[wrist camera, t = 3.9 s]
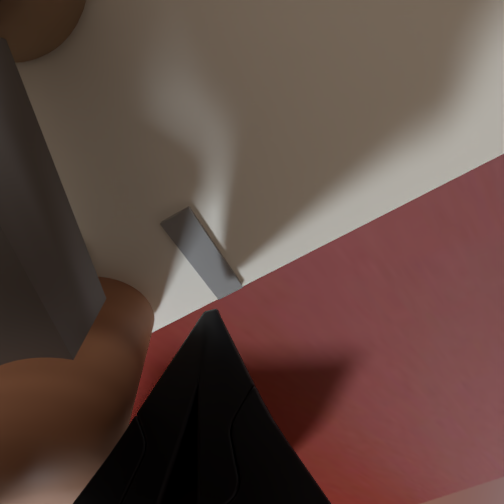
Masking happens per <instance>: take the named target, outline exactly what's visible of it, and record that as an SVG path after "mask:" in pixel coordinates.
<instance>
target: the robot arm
mask: <svg viewBox="0 0 504 504" xmlns="http://www.w3.org/2000/svg"><path fill="white" fill-rule="evenodd" d="M137 416H138V417H137ZM137 416H135V417H134V419H133V420H132V422H131V423H130V425H129V426H128V428H127V429H126V431H125V432H124V434H123V435H122V436H121V438H120V439H119V441H118V442H117V444H116V445H115V447H114V448H113V450H112V451H111V452H110V454H109V455H108V457H107V458H106V460H105V461H104V462H103V464H102V465H101V466H100V468H99V469H98V470H97V472H96V473H95V474H94V476H93V477H92V478H91V480H90V481H89V483H88V484H87V485H86V487H85V488H84V489H83V491H82V492H81V493H80V494H79V496H78V497H77V498H76V500H75V501H74V502H73V504H331V503H330V501H329V500H328V498H327V497H326V496H325V494H324V493H323V491H322V490H321V488H320V487H319V485H318V484H317V483H316V481H315V480H314V478H313V477H312V475H311V474H310V473H309V471H308V470H307V468H306V467H305V465H304V464H303V463H302V461H301V460H300V458H299V457H298V455H297V454H296V453H295V451H294V450H293V448H292V447H291V445H290V444H289V442H288V441H287V440H286V438H285V437H284V435H283V433H282V432H281V430H280V429H279V427H278V426H277V424H276V423H275V421H274V420H273V418H272V416H271V414H270V412H269V411H268V409H267V407H266V405H265V403H264V402H263V400H262V398H261V396H260V394H259V392H258V390H257V388H256V387H255V384H254V382H253V380H252V378H251V376H250V374H249V372H248V370H247V368H246V366H245V364H244V362H243V360H242V358H241V356H240V354H239V352H238V350H237V348H236V346H235V344H234V342H233V340H232V338H231V336H230V334H229V332H228V330H227V328H226V326H225V324H224V322H223V320H222V318H221V316H220V313H219V311H218V310H217V309H213V310H209V311H205V312H204V313H203V314H202V316H201V317H200V319H199V320H198V322H197V323H196V325H195V327H194V328H193V330H192V331H191V333H190V334H189V336H188V337H187V339H186V340H185V342H184V343H183V345H182V346H181V348H180V349H179V351H178V352H177V354H176V355H175V357H174V358H173V360H172V361H171V363H170V364H169V366H168V367H167V369H166V370H165V372H164V373H163V375H162V376H161V378H160V379H159V381H158V382H157V384H156V385H155V387H154V388H153V390H152V392H151V393H150V395H149V396H148V398H147V399H146V401H145V402H144V404H143V405H142V407H141V408H140V410H139V411H138V413H137Z"/></svg>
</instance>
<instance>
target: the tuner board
mask: <svg viewBox="0 0 504 504" xmlns="http://www.w3.org/2000/svg"><path fill="white" fill-rule="evenodd" d="M15 64H16V66H17V69H18V71H19V74H20V77H21V79H22V82H23V84H24V87H25V89H26V92H27V95H28V97H29V100H30V102H31V105H32V108H33V110H34V113H35V115H36V118H37V120H38V123H39V126H40V128H41V131H42V133H43V136H44V139H45V141H46V144H47V146H48V149H49V151H50V154H51V157H52V159H53V162H54V164H55V167H56V170H57V172H58V175H59V177H60V180H61V182H62V185H63V188H64V190H65V193H66V195H67V198H68V201H69V203H70V206H71V208H72V211H73V213H74V216H75V219H76V221H77V224H78V226H79V229H80V232H81V234H82V237H83V239H84V242H85V244H86V247H87V250H88V252H89V255H90V257H91V260H92V263H93V265H94V268H95V270H96V273H97V276H98V277H106V278H111V279H115V280H118V281H121V282H124V283H126V284H128V285H130V286H132V287H134V288H135V289H137V290H138V291H139V292H141V293H142V294H143V295H144V296H145V297H146V299H147V300H148V301H149V303H150V304H151V306H152V309H153V311H154V326H153V330H152V332H154V331H156V330H158V329H160V328H162V327H164V326H166V325H168V324H170V323H172V322H174V321H176V320H178V319H180V318H182V317H184V316H186V315H188V314H189V313H191V312H193V311H195V310H197V309H199V308H201V307H203V306H205V305H207V304H209V303H211V302H213V301H215V300H217V299H218V300H219V299H221V298H223V297H225V296H227V295H229V294H231V293H233V292H235V291H237V290H239V289H241V288H243V286H244V285H246V284H248V283H250V282H252V281H254V280H256V279H258V278H260V277H262V276H264V275H266V274H268V273H270V272H272V271H274V270H276V269H278V268H280V267H282V266H284V265H286V264H288V263H290V262H292V261H294V260H296V259H297V258H299V257H301V256H303V255H305V254H307V253H309V252H311V251H313V250H315V249H317V248H319V247H321V246H323V245H325V244H327V243H329V242H331V241H333V240H335V239H337V238H339V237H341V236H343V235H345V234H347V233H349V232H351V231H352V230H354V229H356V228H358V227H360V226H362V225H364V224H366V223H368V222H370V221H372V220H374V219H376V218H378V217H380V216H382V215H384V214H386V213H388V212H390V211H392V210H394V209H396V208H398V207H400V206H402V205H404V204H406V203H407V202H409V201H411V200H413V199H415V198H417V197H419V196H421V195H423V194H425V193H427V192H429V191H431V190H433V189H435V188H437V187H439V186H441V185H443V184H445V183H447V182H449V181H451V180H453V179H455V178H457V177H459V176H461V175H462V174H464V173H466V172H468V171H470V170H472V169H474V168H476V167H478V166H480V165H482V164H484V163H486V162H488V161H490V160H492V159H494V158H496V157H498V156H500V155H502V154H504V0H86V3H85V6H84V10H83V12H82V15H81V17H80V19H79V21H78V24H77V25H76V27H75V28H74V30H73V31H72V33H71V34H70V36H69V37H68V38H67V39H66V40H65V41H64V42H63V43H62V44H61V45H60V46H59V47H57V48H56V49H54V50H53V51H52V52H50V53H48V54H46V55H44V56H42V57H40V58H38V59H34V60H30V61H26V62H18V63H15Z"/></svg>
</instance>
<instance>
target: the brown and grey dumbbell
mask: <svg viewBox="0 0 504 504" xmlns="http://www.w3.org/2000/svg"><path fill="white" fill-rule="evenodd" d="M85 3H86V0H0V504H73V502H74V501H75V500H76V498H77V497H78V496H79V494H80V493H81V492H82V491H83V489H84V488H85V487H86V485H87V484H88V483H89V481H90V480H91V478H92V477H93V476H94V474H95V473H96V472H97V470H98V469H99V468H100V466H101V465H102V464H103V462H104V461H105V460H106V458H107V457H108V455H109V454H110V452H111V451H112V450H113V448H114V447H115V445H116V444H117V442H118V441H119V439H120V438H121V436H122V435H123V434H124V432H125V431H126V429H127V428H128V426H129V422H130V418H131V414H132V410H133V406H134V402H135V398H136V394H137V390H138V386H139V382H140V378H141V374H142V370H143V366H144V362H145V358H146V354H147V350H148V346H149V342H150V338H151V334H152V330H153V326H154V311H153V309H152V306H151V304H150V303H149V301H148V300H147V299H146V297H145V296H144V295H143V294H142V293H141V292H139V291H138V290H137V289H135V288H134V287H132V286H130V285H128V284H126V283H124V282H121V281H118V280H115V279H111V278H106V277H98V276H97V273H96V270H95V268H94V265H93V263H92V260H91V257H90V255H89V252H88V250H87V247H86V244H85V242H84V239H83V237H82V234H81V232H80V229H79V226H78V224H77V221H76V219H75V216H74V213H73V211H72V208H71V206H70V203H69V201H68V198H67V195H66V193H65V190H64V188H63V185H62V182H61V180H60V177H59V175H58V172H57V170H56V167H55V164H54V162H53V159H52V157H51V154H50V151H49V149H48V146H47V144H46V141H45V139H44V136H43V133H42V131H41V128H40V126H39V123H38V120H37V118H36V115H35V113H34V110H33V108H32V105H31V102H30V100H29V97H28V95H27V92H26V89H25V87H24V84H23V82H22V79H21V77H20V74H19V71H18V69H17V66H16V64H15V63H18V62H26V61H30V60H34V59H38V58H40V57H42V56H44V55H46V54H48V53H50V52H52V51H53V50H54V49H56V48H57V47H59V46H60V45H61V44H62V43H63V42H64V41H65V40H66V39H67V38H68V37H69V36H70V34H71V33H72V31H73V30H74V28H75V27H76V25H77V24H78V21H79V19H80V17H81V15H82V12H83V10H84V6H85Z"/></svg>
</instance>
